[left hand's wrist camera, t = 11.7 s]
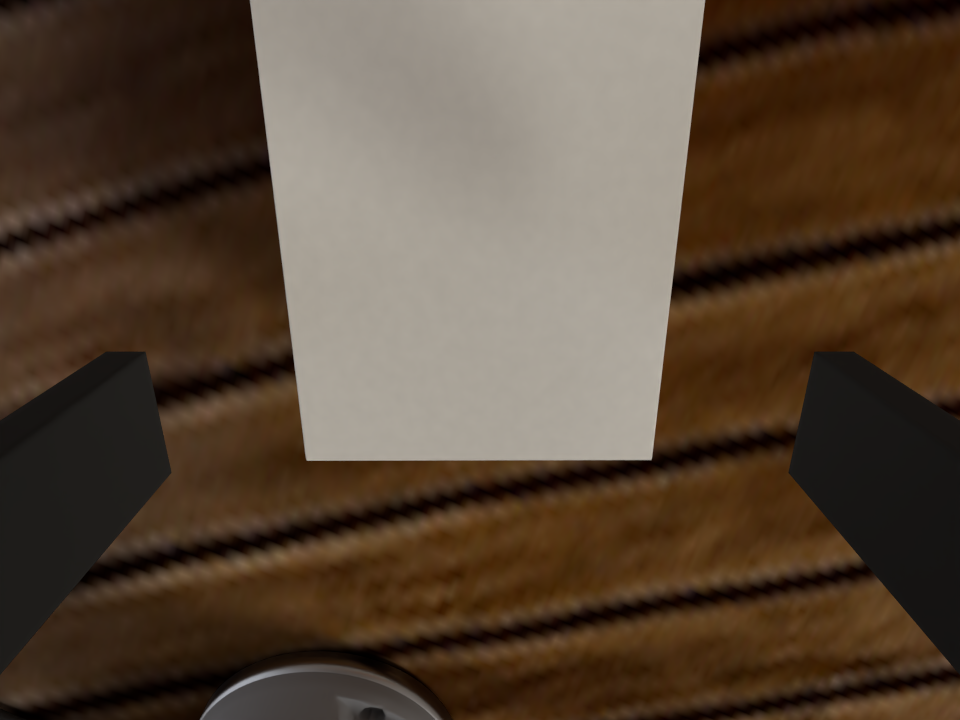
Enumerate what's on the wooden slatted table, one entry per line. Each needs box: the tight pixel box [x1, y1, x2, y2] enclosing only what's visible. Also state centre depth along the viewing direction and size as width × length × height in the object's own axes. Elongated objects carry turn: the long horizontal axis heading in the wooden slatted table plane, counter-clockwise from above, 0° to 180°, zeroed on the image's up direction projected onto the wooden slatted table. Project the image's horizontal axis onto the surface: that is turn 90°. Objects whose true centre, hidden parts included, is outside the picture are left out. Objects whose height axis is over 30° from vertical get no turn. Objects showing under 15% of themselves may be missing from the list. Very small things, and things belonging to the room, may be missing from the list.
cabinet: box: [250, 0, 705, 461], centre depth 20 cm, size 20×11×9 cm, turn 0°
